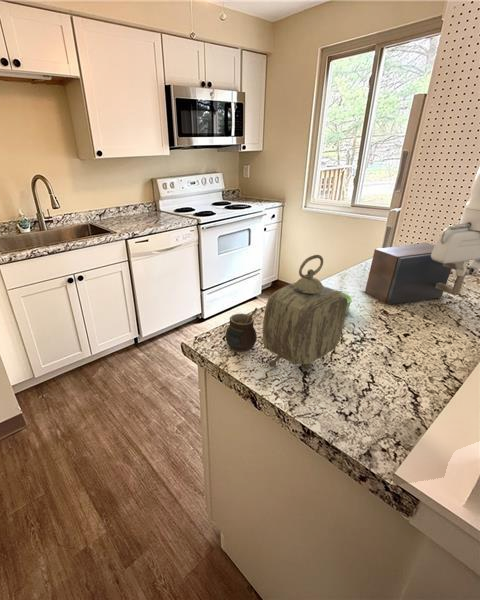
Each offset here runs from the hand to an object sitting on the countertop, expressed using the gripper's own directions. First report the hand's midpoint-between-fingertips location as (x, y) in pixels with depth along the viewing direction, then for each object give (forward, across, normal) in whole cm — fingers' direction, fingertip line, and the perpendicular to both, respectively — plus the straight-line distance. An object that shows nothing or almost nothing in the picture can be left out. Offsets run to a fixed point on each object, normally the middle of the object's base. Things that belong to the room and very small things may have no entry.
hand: (465, 274), depth 79 cm
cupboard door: (+10, -5, +4) cm, 12 cm away
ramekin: (+10, -30, +7) cm, 32 cm away
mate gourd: (+10, -61, -4) cm, 62 cm away
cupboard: (+10, -6, +11) cm, 16 cm away
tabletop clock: (+10, -51, -13) cm, 54 cm away
